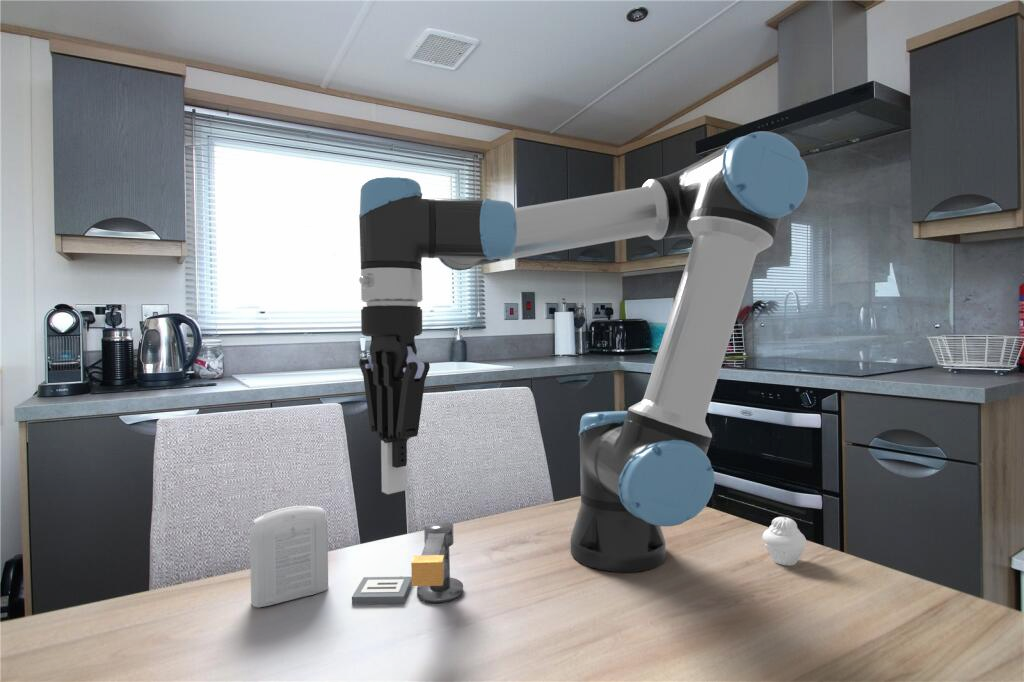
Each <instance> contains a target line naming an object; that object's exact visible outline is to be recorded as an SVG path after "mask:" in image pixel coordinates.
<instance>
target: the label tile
mask: <svg viewBox="0 0 1024 682" xmlns="http://www.w3.org/2000/svg"><path fill="white" fill-rule="evenodd" d="M411 587H412V576H364V577H362V579H361V581H360V583H359V584H358V585H357V588H356V589H355V591H354V593H353V594H352V596H351V605H394V604H395V605H397V604H398V605H400V604H401V605H402V604H405V601H406V600H407V597H408V595H409V592H410V590H411Z"/></svg>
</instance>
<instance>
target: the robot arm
mask: <svg viewBox="0 0 1024 682" xmlns="http://www.w3.org/2000/svg"><path fill="white" fill-rule="evenodd" d="M808 186H809V173H808V167H807V165H806V162H805V160H804V159H803V158H802V157H801V155H800V150H799V149H798V148H797V146H795V145H794V143H793V142H792V141H790V140H789V139H787V138H786V137H784V136H782V135H781V134H779V133H776V132H771V131H764V130H763V131H760V130H759V131H755V132H751V133H749V134H746V135H744V136H740V137H739V136H738V137H736V138H735V139H733V140H731V141H730V142H729V143H728V144H726V146H724V147H721V148H720V149H717V150H716V151H714V152H712V153H711V154H709V155H707V156H705V157H704V158H702V159H700V160H698V161H696V162H694V163H692V164H690V165H689V166H687V167H685V168H683V169H681V170H678V171H676V172H673V173H671V174H669V175H665V176H661V177H656V178H650V179H648V180H646V181H645V182H644V183H643V184H642V186H641V187H636V188H628V189H624V190H623V189H622V190H618V191H612V192H605V193H600V194H593V195H588V196H581V197H576V198H575V197H574V198H568V199H564V200H556V201H550V202H545V203H539V204H534V205H533V204H532V205H527V206H521V207H519V206H518V207H514V205H513V204H512V203H511V202H509V201H507V200H505V201H504V200H496V199H491V198H485V199H476V198H475V199H473V198H470V199H469V198H434V197H428V196H423V193H422V187H421V185H420V184H419V182H418V181H416V180H415V179H411V178H409V177H400V176H393V175H392V176H391V175H388V176H387V175H383V176H376V177H372V178H369V179H367V180H366V181H364V182H363V183H362V185H361V188H360V198H359V199H360V200H359V201H360V204H359V215H358V217H359V219H358V221H359V249H360V251H359V252H360V253H359V257H360V270H361V271H360V277H359V280H358V281H359V283H360V286H361V287H360V291H361V293H360V295H361V296H360V298H361V301H362V302H364V303H366V306H362V309H360V313H361V314H360V316H361V317H360V318H361V319H360V321H361V323H360V325H361V329H360V330H361V334H362V335H363V336H365V337H370V338H371V339H370V345H369V355H368V356H367V357H364V358H360V359H359V361H358V363H359V368H360V371H361V373H362V374H361V375H362V376H363V377H362V378H363V383H364V392H365V399H366V408H367V416H368V421H369V430H370V432H371V433H376V434H377V435H376V436H377V437H378V439H379V440H380V460H381V461H380V462H381V470H380V472H381V493H384V494H385V495H391V494H395V493H399V492H403V491H407V464H408V458H407V457H408V449H407V448H408V440H409V439H411V438H415V437H418V435H419V428H420V420H421V415H422V414H421V413H422V406H423V398H424V389H425V382H426V379H427V376H428V374H429V371H430V368H431V367H430V363H429V361H421V359H419V357H418V354H417V353H418V350H417V347H416V341H415V337H418V336H421V335H422V333H423V309H422V308H421V306H418V304H419V303H420V302H422V301H423V270H422V269H423V268H422V259H424V258H426V259H427V258H428V259H438V260H439V261H440V262H441V263H442V264H443V265H444V266H445V267H447V268H449V269H452V270H454V271H467V270H470V269H472V268H474V267H477V266H481V265H488V264H494V263H497V262H504V261H508V260H513V259H520V258H521V259H522V258H526V257H532V256H537V255H543V254H549V253H554V252H560V251H565V250H572V249H576V248H581V247H582V248H583V247H588V246H594V245H599V244H600V245H601V244H604V243H611V242H616V241H622V240H627V239H632V238H641V237H644V236H648V237H649V238H651V239H652V240H653V241H659V240H663V239H670V238H678V237H679V238H681V237H692V238H693V242H692V245H691V247H690V250H689V254H688V257H687V260H686V263H685V266H684V270H683V273H682V276H681V279H680V282H679V285H678V288H677V291H676V295H675V298H674V301H673V304H672V307H671V311H670V313H669V317H668V320H667V323H666V326H665V329H664V331H663V335H662V338H661V343H660V346H659V348H658V351H657V355H656V358H655V361H654V363H653V367H652V371H651V374H650V377H649V380H648V383H647V386H646V390H645V391H644V396H643V398H642V399H641V401H639V402H637V403H635V404H633V405H631V406H629V407H628V409H627V410H618V411H617V410H615V411H614V410H612V411H595V412H594V411H593V412H587V413H584V414H583V415H582V416H581V418H580V423H579V431H578V437H579V462H580V463H579V464H580V465H579V466H580V469H579V470H580V471H579V473H580V507H579V509H578V513H577V516H576V519H575V522H574V526H573V528H572V532H571V534H570V554H571V556H572V557H573V559H575V560H576V561H577V562H579V563H580V564H583V565H585V566H587V567H590V568H594V569H597V570H602V571H607V572H615V573H632V572H633V573H636V572H643V571H648V570H651V569H653V568H656V567H659V566H660V565H662V564H663V562H664V561H665V560H666V557H667V547H666V545H667V544H666V540H665V536H664V533H663V530H662V528H661V527H674V526H680V525H682V524H684V523H685V522H688V521H689V520H692V519H694V518H695V517H697V516H698V515H699V514H700V513H701V512H702V511H703V510H704V508H705V507H706V506H707V505H708V503H709V501H710V499H711V497H712V495H713V492H714V489H715V480H716V479H715V471H714V468H712V463H711V460H710V459H709V457H708V456H707V453H708V451H709V448H710V445H711V441H712V437H713V433H712V432H711V431H710V429H709V427H708V425H707V423H706V417H707V414H708V410H709V407H710V404H711V401H712V397H713V394H714V391H715V389H716V385H717V381H718V378H719V375H720V372H721V369H722V365H723V363H724V360H725V357H726V353H727V350H728V347H729V344H730V340H731V337H732V334H733V330H734V328H735V324H736V322H737V318H738V315H739V312H740V308H741V306H742V303H743V299H744V296H745V293H746V290H747V286H748V283H749V279H750V278H751V277H750V276H751V273H752V270H753V267H754V264H755V261H756V257H757V255H759V253H761V252H763V251H765V250H766V249H769V248H770V247H772V245H773V243H774V240H775V237H776V234H777V230H778V228H779V223H780V221H781V218H783V217H786V216H788V215H790V214H792V213H793V212H794V211H795V210H796V209H797V208H798V207H799V206H800V205H801V204H802V202H803V201H804V199H805V198H806V197H805V196H806V195H807V191H808Z"/></svg>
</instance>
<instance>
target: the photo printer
mask: <svg viewBox="0 0 1024 682" xmlns="http://www.w3.org/2000/svg"><path fill="white" fill-rule="evenodd" d="M328 534H329V533H328V519H327V516H326V511H325V509H323V507H321V506H314V505H294V506H287V507H282V508H277V509H275V510H272V511H269V512H267V513H264V514H262V515H260V516H257V517H256V518H254V519H253V520H252V522H251V529H250V533H249V549H250V551H249V552H250V553H249V556H250V557H249V559H250V561H249V562H250V567H249V568H250V603H251V604H250V605H252V607H254V608H263V607H269V606H272V605H276V604H280V603H281V604H282V603H284V602H288V601H292V600H296V599H300V598H304V597H307V596H312V595H315V594H319V593H322V592H326V591H327V590H328V588H329V548H328V545H329V544H328V542H329V539H328Z"/></svg>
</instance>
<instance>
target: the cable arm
mask: <svg viewBox="0 0 1024 682" xmlns="http://www.w3.org/2000/svg"><path fill="white" fill-rule="evenodd" d="M423 530H424V531H423V533H424V536H423V537H424V546H423V548H422V552H421V555H413V558H412V561H411V563H410V564H411V577H412V585H411V587H418V586H443V582H444V552H445V548H447V547H449V548H450V547H452V546H453V545H454V543H455V542H454V541H455V540H454V538H455V537H454V524H453V523H452V522H449V521H445V520H439V521H437V520H436V521H432V522H429V523H426V524H425V525H424V529H423Z"/></svg>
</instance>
